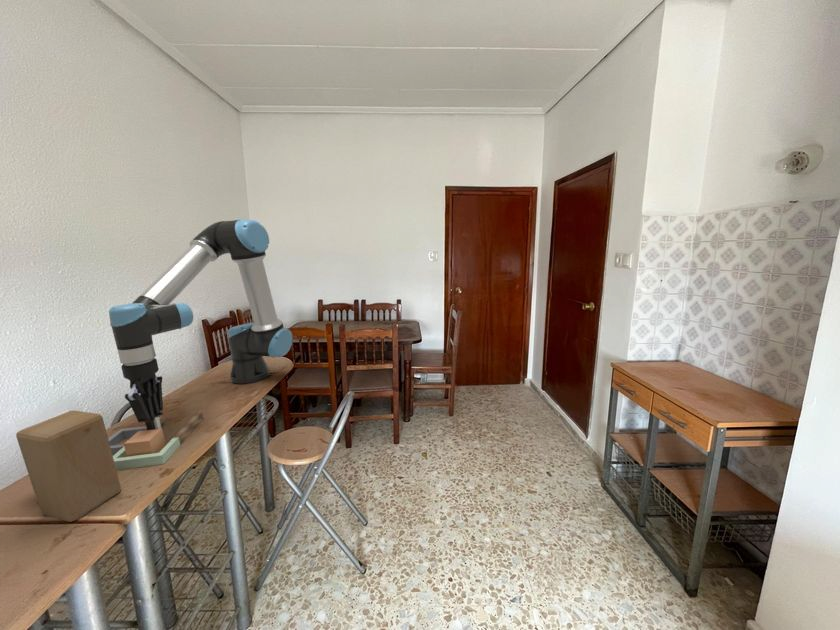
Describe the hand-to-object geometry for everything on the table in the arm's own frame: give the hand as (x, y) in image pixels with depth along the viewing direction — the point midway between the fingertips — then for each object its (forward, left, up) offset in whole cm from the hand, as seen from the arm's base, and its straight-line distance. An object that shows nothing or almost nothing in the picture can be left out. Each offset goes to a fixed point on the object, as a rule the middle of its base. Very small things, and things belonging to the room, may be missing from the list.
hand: (156, 439), depth 97 cm
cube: (+5, 0, -2) cm, 5 cm away
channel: (-6, 0, -2) cm, 6 cm away
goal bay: (+6, 0, -2) cm, 6 cm away
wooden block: (+22, -4, -2) cm, 22 cm away
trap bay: (-2, -10, -2) cm, 10 cm away
